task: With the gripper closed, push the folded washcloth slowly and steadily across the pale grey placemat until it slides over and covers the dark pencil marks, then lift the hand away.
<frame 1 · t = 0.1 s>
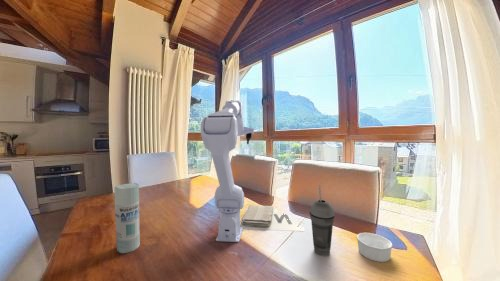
hand: (240, 142, 96), 32 cm above the table, tool tilted 50°, fingers open, 7 cm apart
ramekin: (373, 254, 57), on the table
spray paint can: (128, 248, 62), on the table
washcloth: (258, 218, 83), on the table, touching placemat
beverage cup: (321, 251, 59), on the table
placemat: (271, 217, 83), on the table
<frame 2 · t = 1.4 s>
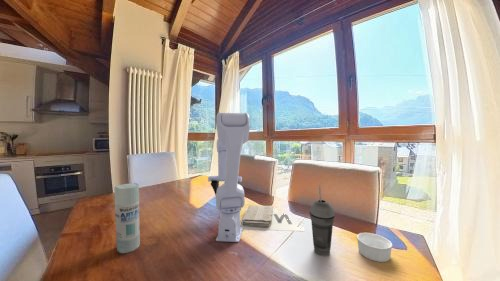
hand: (225, 197, 84), 8 cm above the table, tool pointing down, fingers open, 6 cm apart
nothing on the table moved.
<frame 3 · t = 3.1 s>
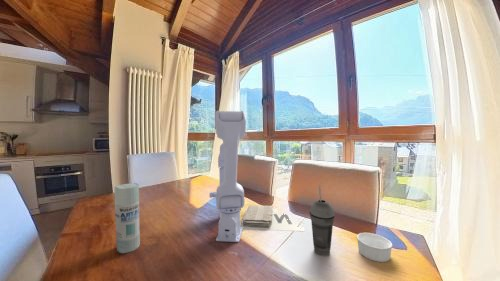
hand: (226, 213, 84), 1 cm above the table, tool pointing down, fingers closed
nothing on the table moved.
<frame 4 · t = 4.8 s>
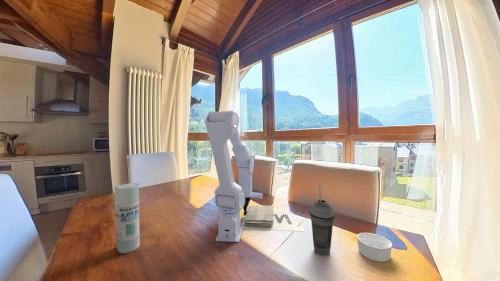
hand: (245, 214, 83), 1 cm above the table, tool pointing down, fingers closed, pressing on washcloth
washcloth: (259, 218, 83), on the table, touching gripper, placemat
everything else where it was.
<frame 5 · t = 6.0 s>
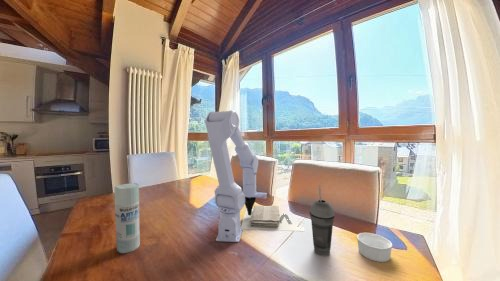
hand: (249, 214, 83), 1 cm above the table, tool pointing down, fingers closed
washcloth: (265, 218, 82), on the table, touching gripper, placemat
everything else where it was.
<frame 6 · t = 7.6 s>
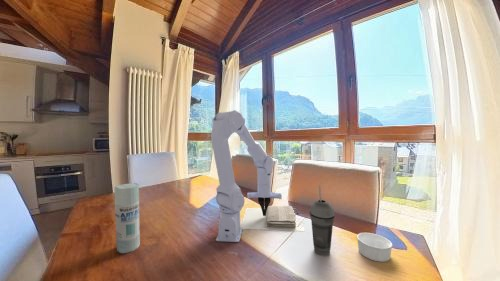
hand: (264, 214, 82), 1 cm above the table, tool pointing down, fingers closed
washcloth: (280, 219, 82), on the table, touching gripper, placemat
everything else where it was.
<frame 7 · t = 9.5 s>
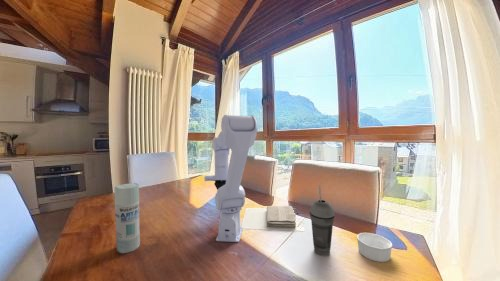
hand: (222, 198, 81), 9 cm above the table, tool pointing down, fingers closed
washcloth: (280, 219, 82), on the table, touching placemat
everything else where it was.
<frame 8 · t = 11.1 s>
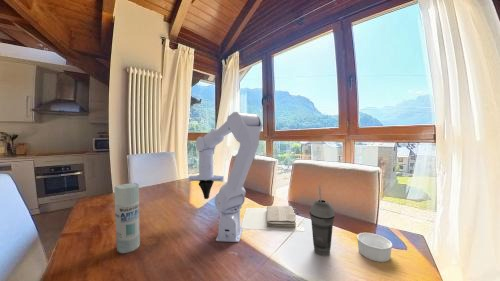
hand: (206, 198, 81), 9 cm above the table, tool pointing down, fingers closed
nothing on the table moved.
at the end: washcloth inside the target area (0.6 cm from its centre), on the table; washcloth moved 9.2 cm from its start; washcloth tilted 0° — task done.
